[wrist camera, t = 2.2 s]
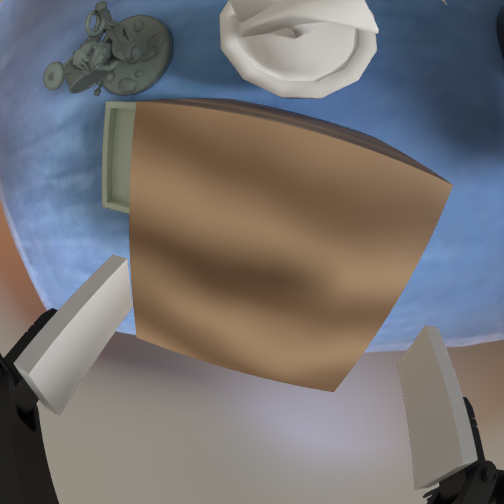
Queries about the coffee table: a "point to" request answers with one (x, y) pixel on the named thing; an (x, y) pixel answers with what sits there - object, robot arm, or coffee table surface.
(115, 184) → the tray
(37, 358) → the robot arm
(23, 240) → the coffee table surface
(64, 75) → the figurine
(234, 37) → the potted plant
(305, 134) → the shelf
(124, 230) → the coffee table surface
